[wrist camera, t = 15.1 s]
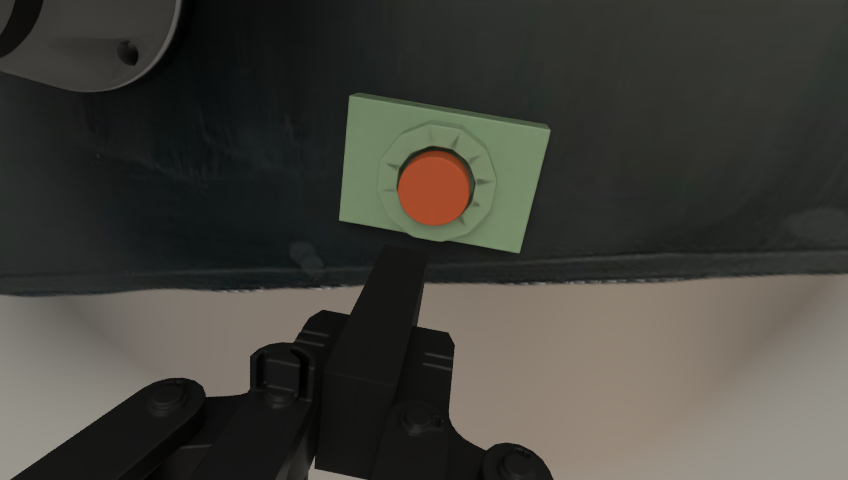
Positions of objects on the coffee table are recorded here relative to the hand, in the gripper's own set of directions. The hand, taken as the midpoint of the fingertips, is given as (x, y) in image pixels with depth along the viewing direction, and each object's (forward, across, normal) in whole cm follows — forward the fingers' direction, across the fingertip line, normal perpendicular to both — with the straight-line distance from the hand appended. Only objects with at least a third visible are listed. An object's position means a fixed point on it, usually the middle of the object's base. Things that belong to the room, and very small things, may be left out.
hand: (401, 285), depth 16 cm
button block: (+16, 0, 0) cm, 16 cm away
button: (+13, 0, 0) cm, 13 cm away
